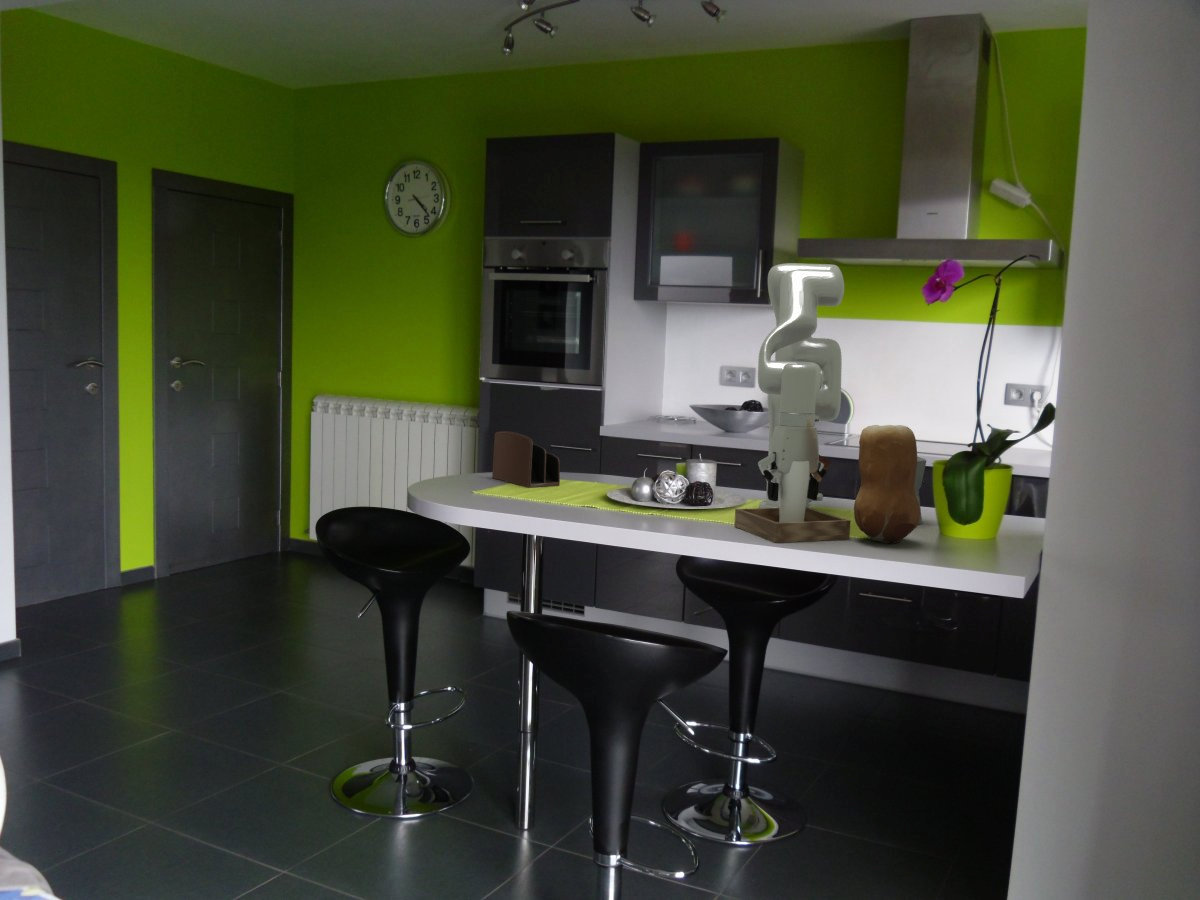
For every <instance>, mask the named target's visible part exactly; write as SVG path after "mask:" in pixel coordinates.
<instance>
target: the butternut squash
mask: <svg viewBox="0 0 1200 900" xmlns="http://www.w3.org/2000/svg"><path fill="white" fill-rule="evenodd" d="M858 444H859V448H858V469H859V474H860V487H859V490H858V493H857V495H856V498H855V500H854V504H853V506H854V507H853V517H854V521H855V523H856V526H857V527H858V529H859V531H861V532H863V533H864V534H865V535H866V536H867V537H868V538H870V539H872V541H876V542H880V543H884V544H892V545H893V544H896V543H899V542H901V541H902V540H903V539H905V538H906V537H907V536H909V535H910V534H911V533H913V531H914V530H916V528H918V526H919V525H918V523H919V519H920V516H921V517H922V513H921V514H920V508H921V505H920V506H919V503H918V500H917V497H916V493H915V477H916V469H917V457H918V447H917V440H916V436H915V434H914V432H913V430H912V429H911V428H910V427H908V426H907V425H903V424H902V425H901V424H895V425H893V424H887V425H886V424H885V425H878V424H873V425H868V426H865V427H864V428H863V429H862V430H861V432H860V437H859V443H858Z"/></svg>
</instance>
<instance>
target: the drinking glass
mask: <svg viewBox="0 0 1200 900" xmlns="http://www.w3.org/2000/svg"><path fill="white" fill-rule="evenodd" d="M809 477H810V472H809V461H793V462H792V465H791V469H790V472H789V473H788V474H782V475H781V476H780V478H779V479H778V484H779V492H778V493H779V523H783V522H804V518H805V509H806V501H807V494H808V486H809V480H810V478H809Z"/></svg>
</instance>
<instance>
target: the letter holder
mask: <svg viewBox="0 0 1200 900" xmlns="http://www.w3.org/2000/svg"><path fill="white" fill-rule="evenodd" d="M492 459H493V462H492V472H491V473H492V474H491V475H492V478H491V479H496V480H498V481H502V482H505V483H509V484H512V485H513V484H514V485H516V486H519V487H520V486H521V487H524V488H527V489H534V488H548V487H559V486H560V483H561V479H560V478H561V473H560V472H561V471H560V470H561V469H560V467H561V466H560V465H561V461H560V459H559V457H558V456H557V455H555V454H553V453H550V452H547V450H546V449H545V447H542V446H540V445H538V444H535V443H534V442H533V439H532V438H531V437H529V436H528V435H524V434H522V433H519V432H514V431H509V430H508V431H506V430H505V431H504V430H503V431H496V432H495V433H494V444H493V458H492Z"/></svg>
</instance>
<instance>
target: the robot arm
mask: <svg viewBox="0 0 1200 900" xmlns="http://www.w3.org/2000/svg"><path fill="white" fill-rule="evenodd" d="M767 289H768V291H767V292H768V296H769V300H770V303H771V307H772V309H773V312H774V317H775V325H776V326H775V328H772V330H771V331H770V332H769V333H768V334H767V336H766V337H765V339H764V340H763V341H762V343H761V346H760V349H759V352H758V363H757V364H758V365H757V383H758V388H759V389H760V391H761V392H762V393H764V394H766V395H767V408H768V409H767V411H768V423H769V425H768V427H769V429H768V430H769V433H768V455H767V456H765V457H764V458H762V459H760V460H759V461H758V462H757V466H758V467H759V470H760V474H761V476H763V477H764V479H765V481H766V492H765V493H766V496H765V500H763V501H760V502H759V507H758V508H779V493H778V492H779V484H778V479H779V478H780V476H781V475H782V474H788V473H789V472H790V469H791V465H792V462H793V461H809V472H810V477H809V486H808V494H807V501H806V507H808V508H812V505H811V504H810V503H812V502H823V500H824V495H823V493H819V484H820V482H822V478H823V477H824V476H825V475H826V474H827V470H828V469H829V467H830V465H831V461H830V460H828V459H827V458H825V457H824V456H822V455H820V452H819V450H820V448H819V436H818V435H819V434H818V431H817V427H815V425H816V423H819V422H831V421H834V420H836V419H837V418H838V417H839V414H840V412H841V411H840V410H841V406H842V405H841V404H842V402H841V401H842V398H841V397H842V364H843V363H842V350H841V347H840V345H839V342H838V341H836V340H835V339H832V338H826V337H825V338H824V337H823V338H822V337H821V338H820V337H819V338H818V337H812V336H813V334H815V333H816V330H817V327H818V306H819V307H837V306H839V305H840V304H841V303H842V300H843V297H844V294H845V281H844V276H843V273H842V270H841V269H840V267H839V266H838V265H836V264H832V263H831V264H830V263H829V264H827V263H803V262H802V263H800V262H799V263H797V262H794V263H793V262H791V263H790V262H787V263H780V264H776V265H774V266H772V267H771V268H770V270H769V271H768V275H767ZM773 354H774V355H775V356H774V360H771V359H772V356H773ZM819 464H820V467H819Z"/></svg>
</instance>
